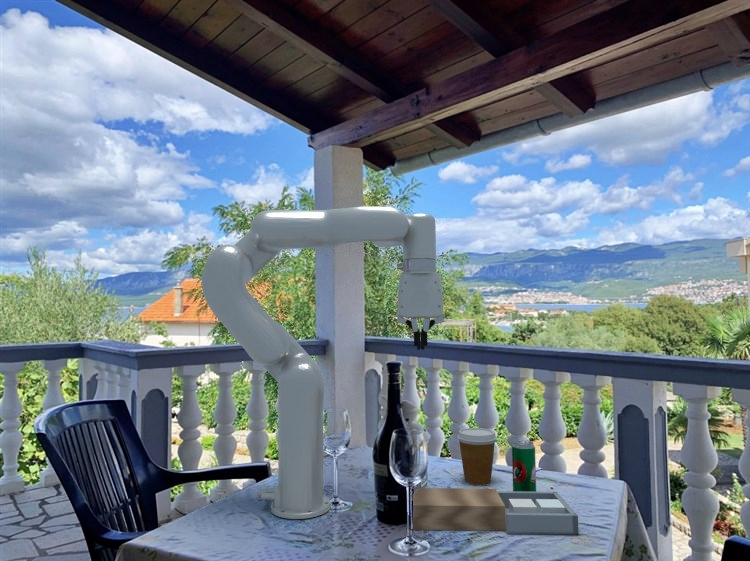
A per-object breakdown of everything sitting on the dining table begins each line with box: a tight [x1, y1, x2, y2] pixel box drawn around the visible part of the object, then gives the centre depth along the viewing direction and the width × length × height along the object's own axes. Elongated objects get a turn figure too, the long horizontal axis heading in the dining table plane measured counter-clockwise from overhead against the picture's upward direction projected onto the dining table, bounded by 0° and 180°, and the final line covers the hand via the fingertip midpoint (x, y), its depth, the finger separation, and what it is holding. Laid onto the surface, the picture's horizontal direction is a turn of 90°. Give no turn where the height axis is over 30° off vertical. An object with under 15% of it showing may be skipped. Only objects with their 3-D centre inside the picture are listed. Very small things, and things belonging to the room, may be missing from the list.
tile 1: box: [509, 499, 537, 513], centre depth 102 cm, size 4×4×3 cm
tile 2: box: [536, 499, 565, 513], centre depth 102 cm, size 4×4×3 cm
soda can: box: [511, 439, 537, 492], centre depth 116 cm, size 5×5×12 cm
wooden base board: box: [413, 487, 506, 532], centre depth 103 cm, size 18×10×4 cm, turn 87°
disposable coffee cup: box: [457, 427, 497, 486], centre depth 127 cm, size 10×10×12 cm
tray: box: [497, 490, 580, 536], centre depth 102 cm, size 13×13×4 cm
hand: (420, 349), depth 116 cm, fingers closed
